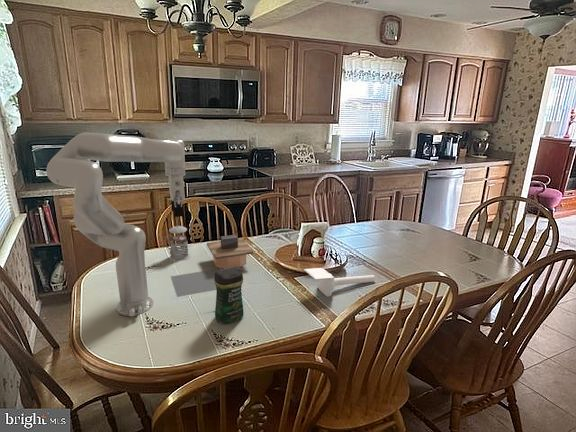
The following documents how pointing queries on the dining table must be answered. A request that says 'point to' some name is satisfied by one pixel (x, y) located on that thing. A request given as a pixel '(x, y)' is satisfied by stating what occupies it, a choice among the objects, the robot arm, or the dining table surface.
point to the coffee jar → (229, 295)
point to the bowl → (230, 261)
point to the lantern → (178, 244)
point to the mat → (194, 282)
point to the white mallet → (334, 280)
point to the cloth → (229, 247)
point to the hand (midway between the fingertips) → (177, 213)
